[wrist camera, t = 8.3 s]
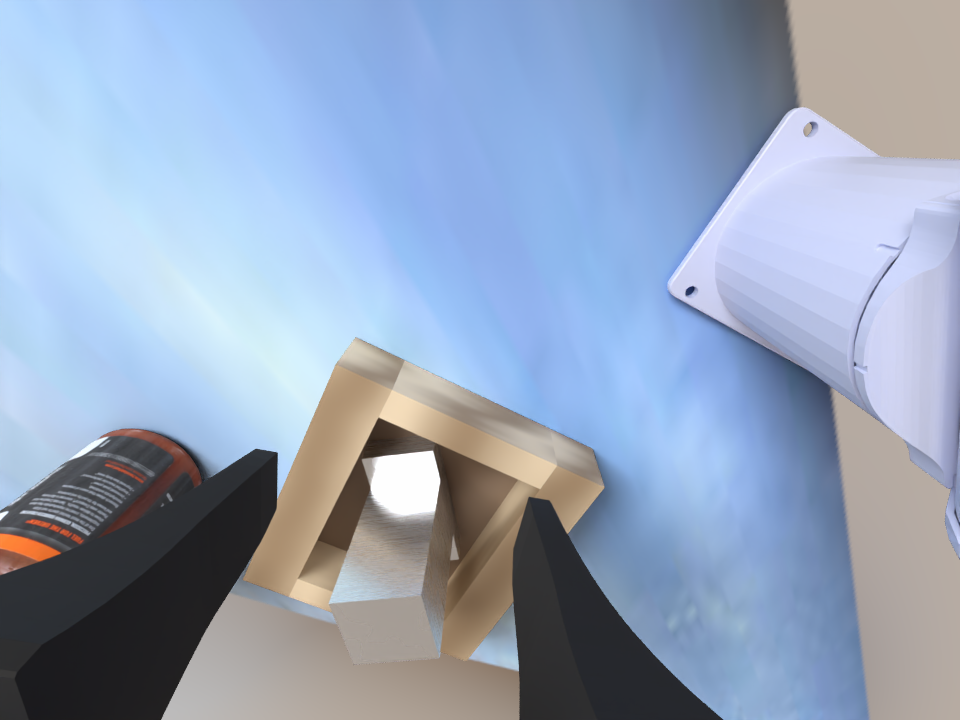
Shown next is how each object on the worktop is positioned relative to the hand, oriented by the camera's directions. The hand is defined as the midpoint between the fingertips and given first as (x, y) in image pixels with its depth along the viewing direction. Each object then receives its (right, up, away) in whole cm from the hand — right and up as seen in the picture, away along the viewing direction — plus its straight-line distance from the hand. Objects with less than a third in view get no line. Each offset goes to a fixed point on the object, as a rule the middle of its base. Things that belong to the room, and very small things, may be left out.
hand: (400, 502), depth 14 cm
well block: (-1, -3, +12) cm, 13 cm away
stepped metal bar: (-1, -3, +12) cm, 12 cm away
